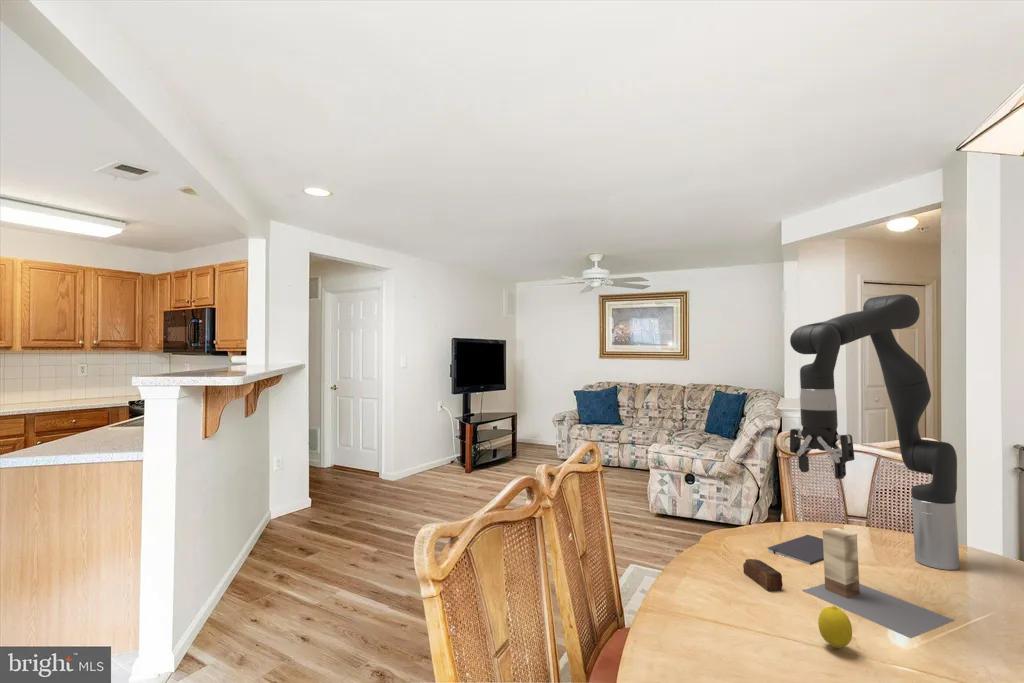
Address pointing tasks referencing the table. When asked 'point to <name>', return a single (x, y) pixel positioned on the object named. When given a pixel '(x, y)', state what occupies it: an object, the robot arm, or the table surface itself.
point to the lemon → (835, 627)
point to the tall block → (841, 562)
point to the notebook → (801, 549)
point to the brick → (763, 574)
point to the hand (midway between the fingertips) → (821, 475)
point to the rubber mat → (885, 610)
